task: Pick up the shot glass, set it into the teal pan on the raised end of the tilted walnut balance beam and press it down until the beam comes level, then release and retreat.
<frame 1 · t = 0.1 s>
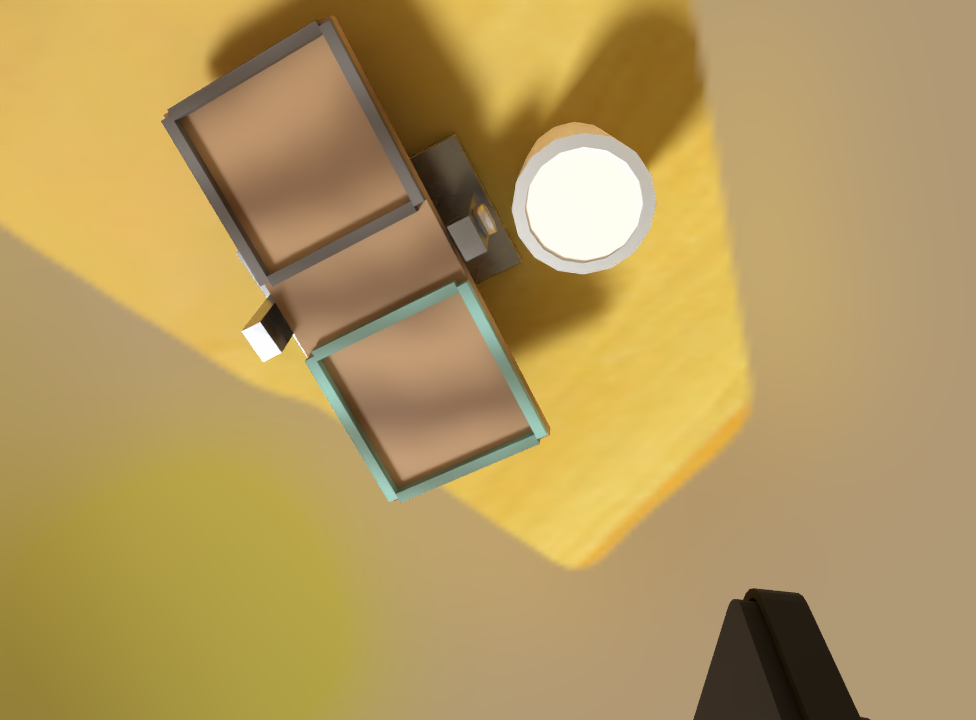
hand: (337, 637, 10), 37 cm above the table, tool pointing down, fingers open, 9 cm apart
shot glass: (574, 173, 44), on the table
pivot stand: (380, 253, 46), on the table
balance beam: (365, 280, 42), point 5 cm above the table, hinge at -8.0°
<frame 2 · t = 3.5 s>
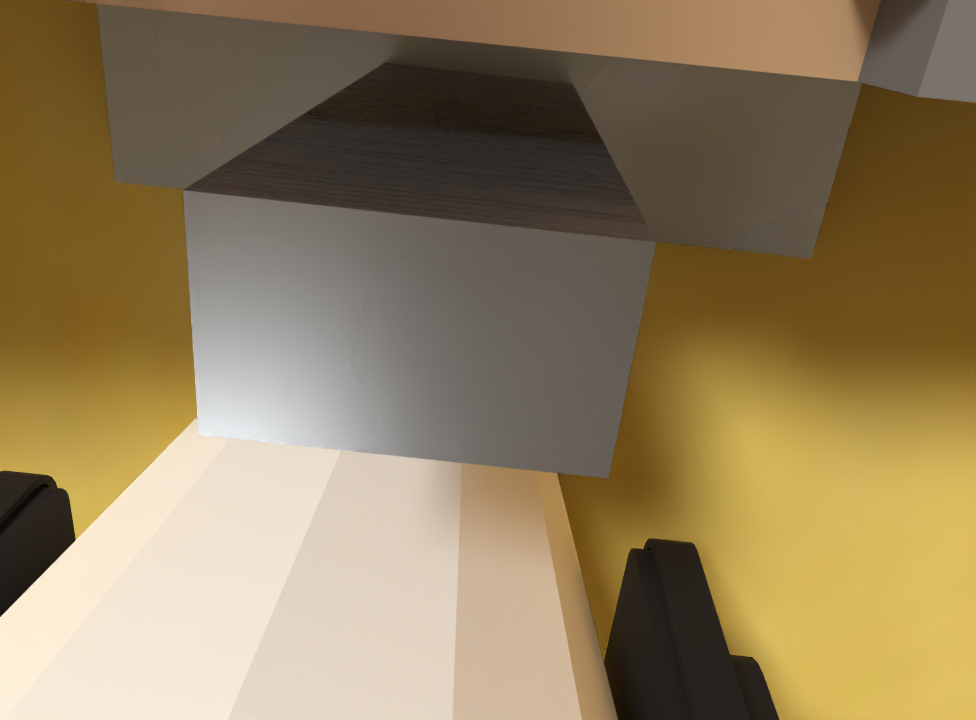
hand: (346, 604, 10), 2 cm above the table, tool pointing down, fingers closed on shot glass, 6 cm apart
shot glass: (374, 501, 12), on the table, touching gripper
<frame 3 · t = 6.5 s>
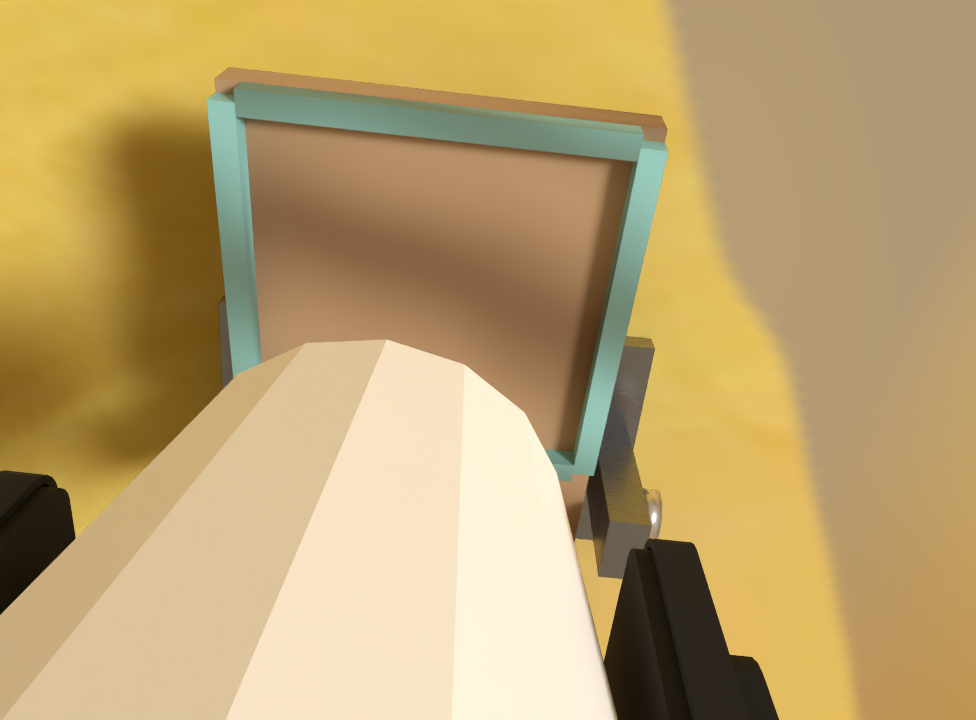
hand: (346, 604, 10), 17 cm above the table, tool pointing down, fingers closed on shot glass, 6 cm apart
shot glass: (374, 501, 12), point 15 cm above the table, touching gripper
pivot stand: (431, 418, 29), on the table
balance beam: (416, 497, 24), point 5 cm above the table, hinge at -8.0°
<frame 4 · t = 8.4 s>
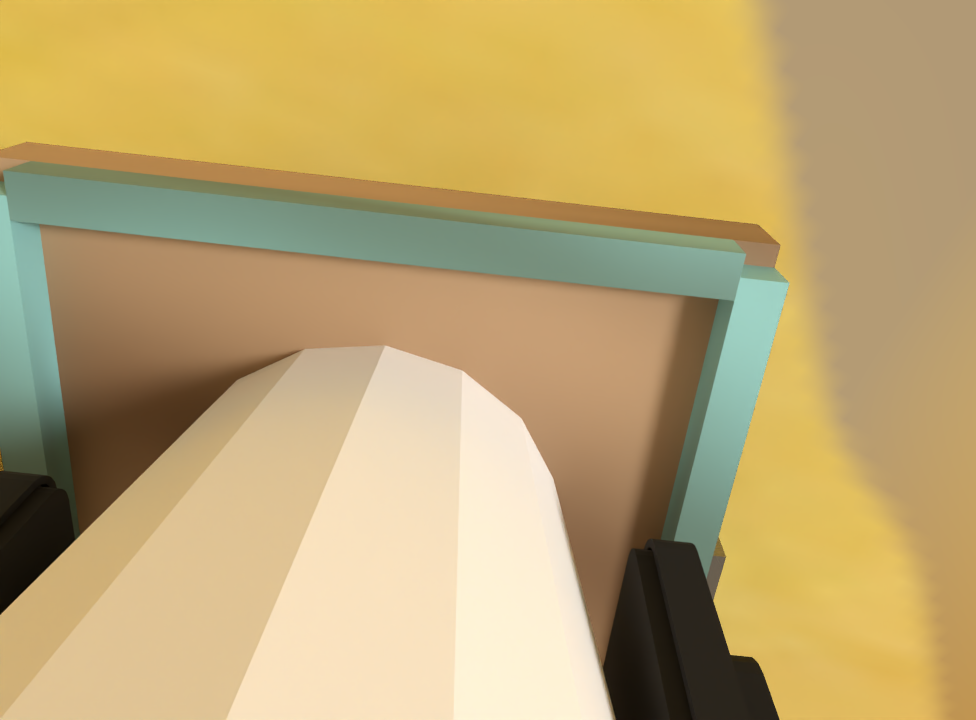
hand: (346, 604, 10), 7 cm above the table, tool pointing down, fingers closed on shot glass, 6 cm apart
shot glass: (371, 508, 12), point 5 cm above the table, touching balance beam, gripper
pivot stand: (388, 634, 19), on the table
when the fingers open (7 cm above the table, at t = 9.5 s): shot glass stays where it is, resting on balance beam.
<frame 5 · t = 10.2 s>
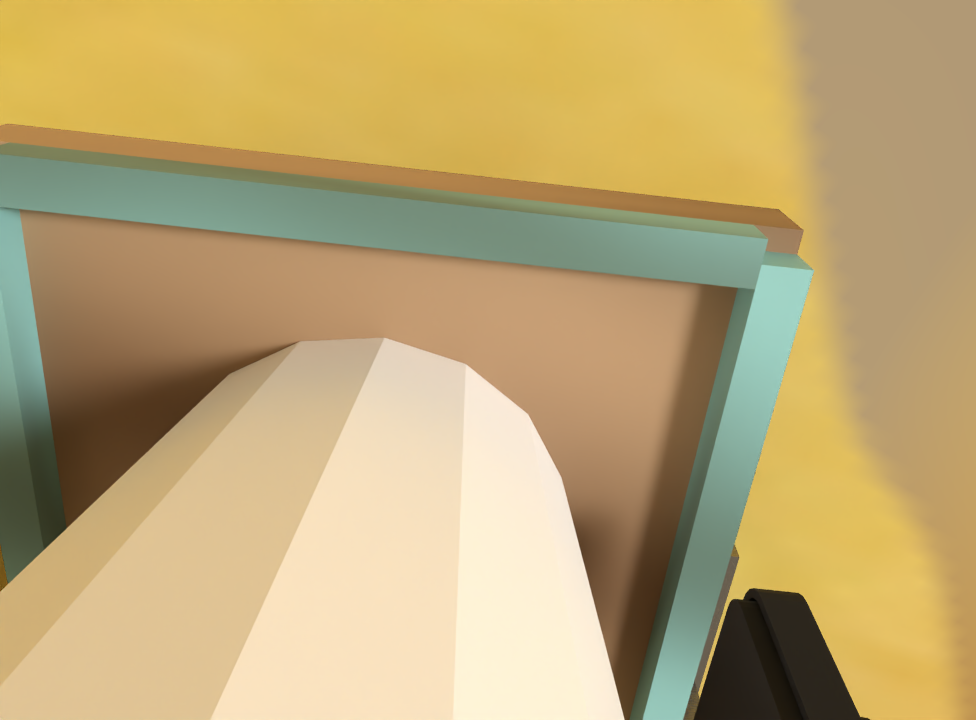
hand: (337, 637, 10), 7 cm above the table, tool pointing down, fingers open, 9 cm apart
shot glass: (371, 508, 12), point 5 cm above the table, touching balance beam
pivot stand: (391, 636, 19), on the table
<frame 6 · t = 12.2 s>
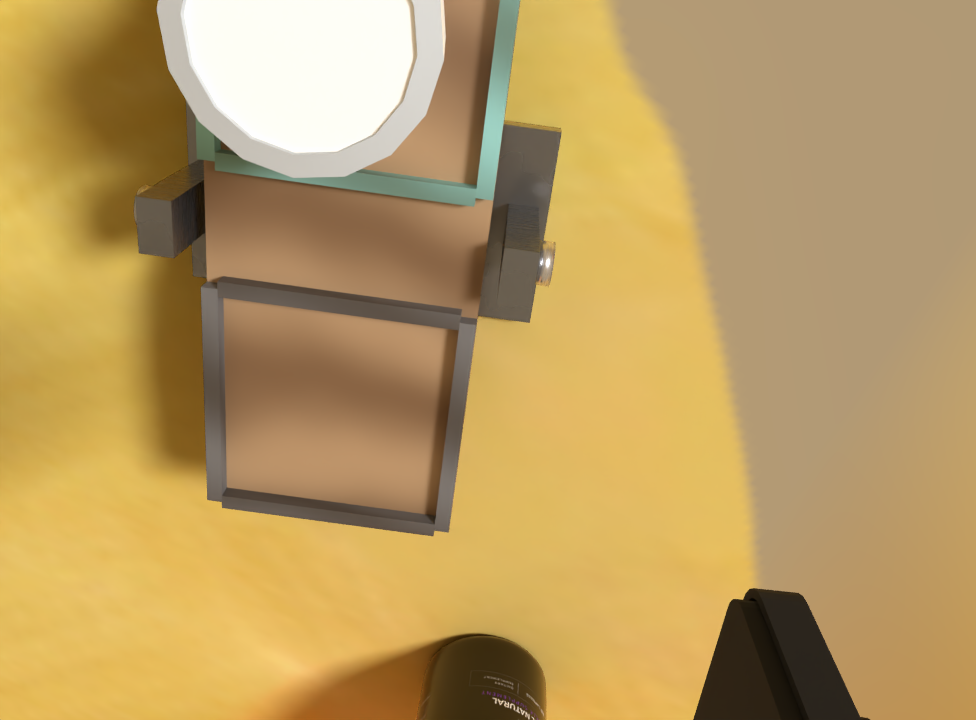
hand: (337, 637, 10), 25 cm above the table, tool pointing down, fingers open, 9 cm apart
supplement bottle: (484, 672, 45), on the table
shot glass: (358, 20, 25), point 5 cm above the table, touching balance beam
pivot stand: (371, 202, 33), on the table
balance beam: (346, 238, 28), point 5 cm above the table, hinge at 0.8°, touching shot glass
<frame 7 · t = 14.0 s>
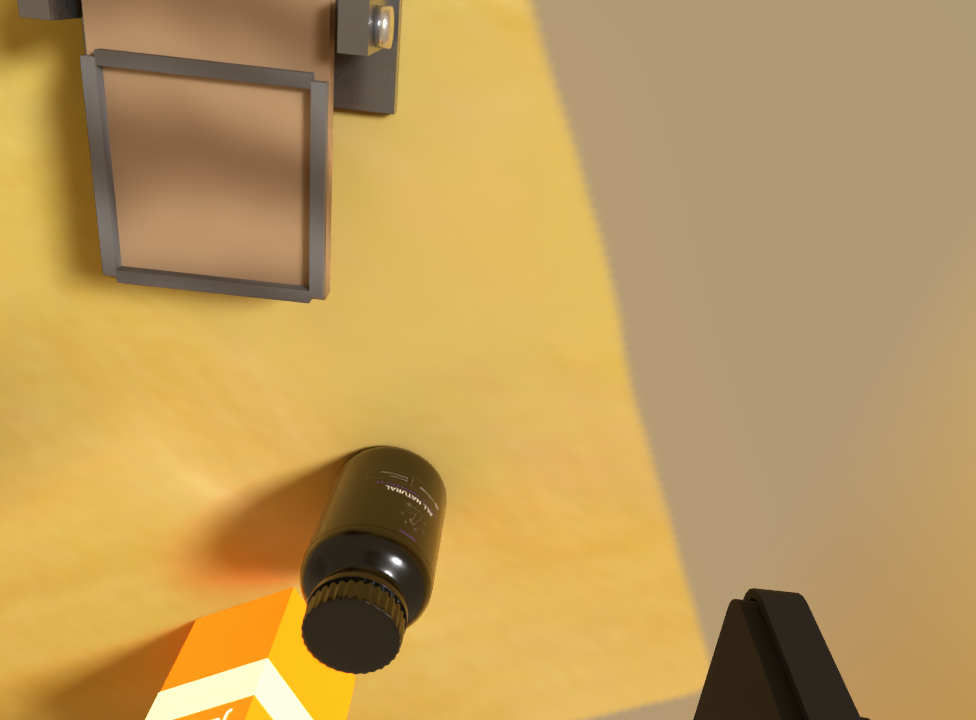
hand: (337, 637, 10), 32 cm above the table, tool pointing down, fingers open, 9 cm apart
supplement bottle: (390, 488, 48), on the table
pivot stand: (244, 4, 36), on the table
balance beam: (207, 7, 32), point 5 cm above the table, hinge at 0.8°, touching shot glass
orange juice: (277, 647, 54), on the table
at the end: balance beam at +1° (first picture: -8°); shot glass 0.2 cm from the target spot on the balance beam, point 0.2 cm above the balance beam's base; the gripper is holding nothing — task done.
